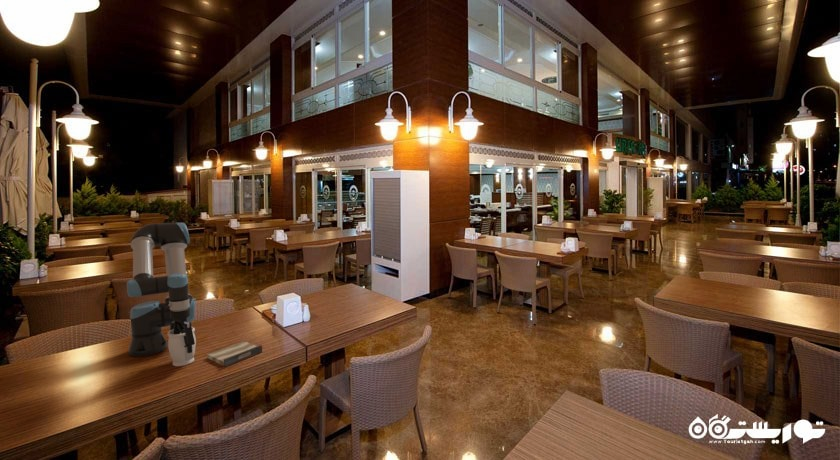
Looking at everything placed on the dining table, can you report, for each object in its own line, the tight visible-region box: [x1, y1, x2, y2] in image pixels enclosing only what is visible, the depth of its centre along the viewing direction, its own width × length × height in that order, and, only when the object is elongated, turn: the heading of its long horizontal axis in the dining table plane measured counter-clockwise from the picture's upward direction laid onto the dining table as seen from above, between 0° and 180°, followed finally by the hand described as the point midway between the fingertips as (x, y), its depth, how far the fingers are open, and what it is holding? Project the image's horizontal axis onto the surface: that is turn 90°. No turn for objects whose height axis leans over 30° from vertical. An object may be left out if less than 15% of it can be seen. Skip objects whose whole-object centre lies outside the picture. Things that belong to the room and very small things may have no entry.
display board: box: [206, 340, 263, 368], centre depth 175 cm, size 15×18×3 cm
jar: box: [166, 326, 197, 367], centre depth 167 cm, size 11×10×15 cm
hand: (183, 356), depth 167 cm, fingers closed on jar, 10 cm apart
